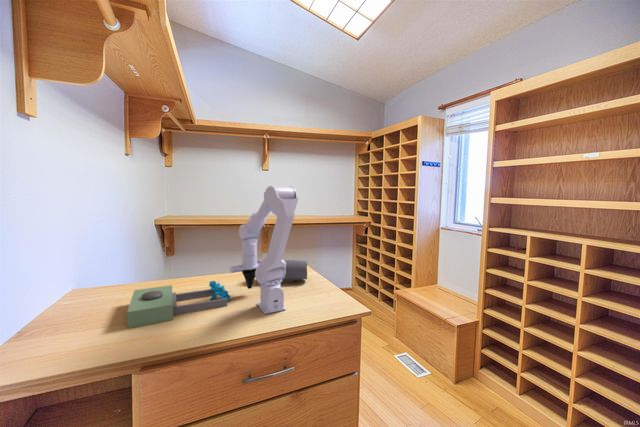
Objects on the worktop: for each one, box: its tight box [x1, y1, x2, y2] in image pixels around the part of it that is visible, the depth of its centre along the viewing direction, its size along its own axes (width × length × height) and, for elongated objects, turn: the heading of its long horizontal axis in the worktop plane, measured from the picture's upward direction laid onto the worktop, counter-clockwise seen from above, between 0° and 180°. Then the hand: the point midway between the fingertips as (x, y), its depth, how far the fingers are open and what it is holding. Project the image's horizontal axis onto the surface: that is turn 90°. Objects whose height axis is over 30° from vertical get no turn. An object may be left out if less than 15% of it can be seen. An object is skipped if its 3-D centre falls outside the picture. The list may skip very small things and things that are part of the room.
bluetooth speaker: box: [257, 259, 308, 283], centre depth 126 cm, size 23×9×10 cm, turn 94°
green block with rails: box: [126, 284, 228, 329], centre depth 97 cm, size 20×29×6 cm
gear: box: [208, 280, 231, 302], centre depth 103 cm, size 11×6×10 cm
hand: (249, 287), depth 109 cm, fingers closed
